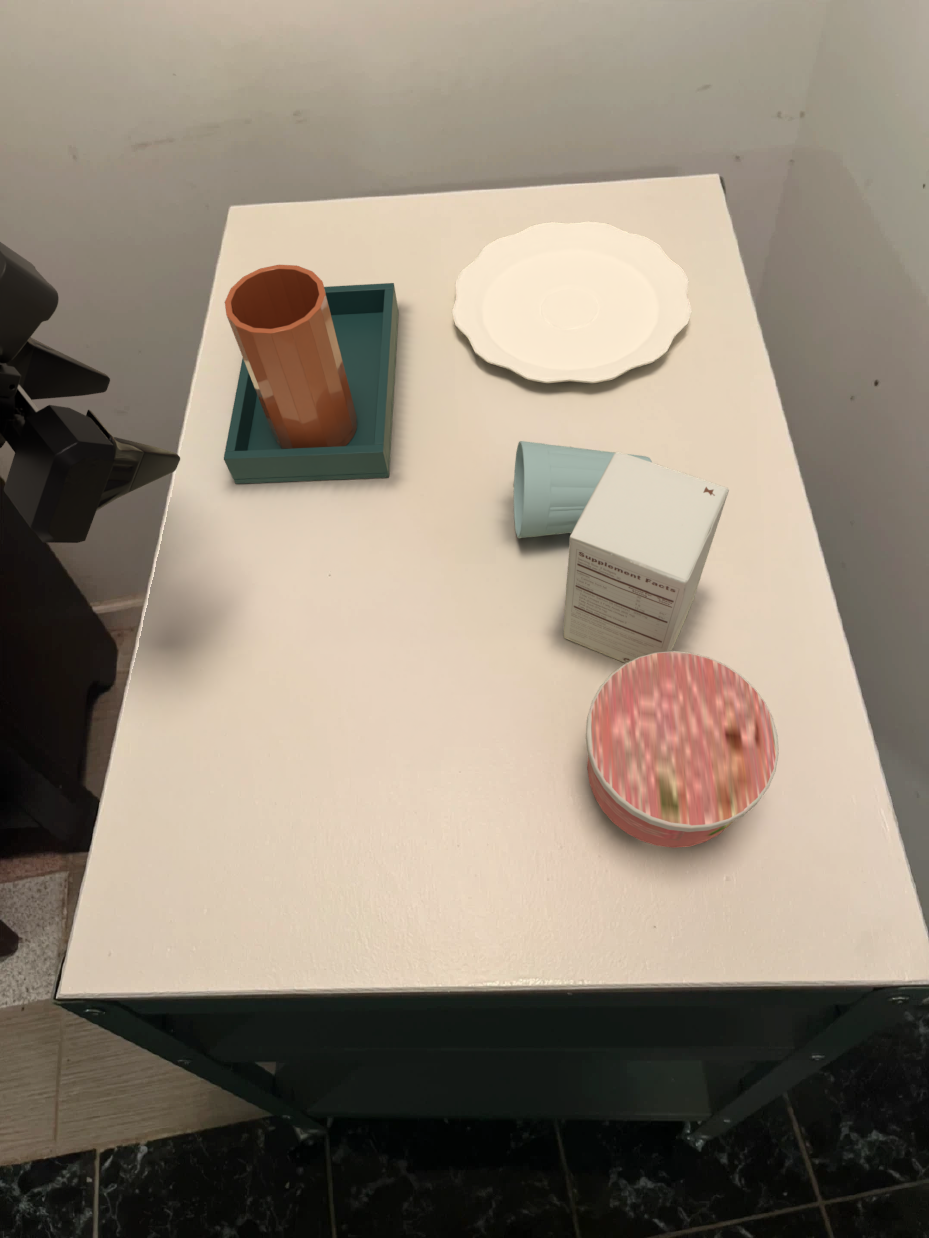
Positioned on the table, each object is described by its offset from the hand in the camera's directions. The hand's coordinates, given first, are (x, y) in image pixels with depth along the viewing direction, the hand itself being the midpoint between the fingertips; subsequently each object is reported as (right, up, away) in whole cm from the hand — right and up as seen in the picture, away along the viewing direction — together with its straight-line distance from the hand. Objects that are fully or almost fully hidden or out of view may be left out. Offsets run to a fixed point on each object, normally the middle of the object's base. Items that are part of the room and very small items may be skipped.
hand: (141, 421), depth 53 cm
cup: (+33, 0, +10) cm, 34 cm away
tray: (+8, +7, +19) cm, 22 cm away
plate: (+30, +15, +22) cm, 40 cm away
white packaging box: (+32, -13, +6) cm, 35 cm away
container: (+33, -23, 0) cm, 40 cm away
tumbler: (+8, +3, +16) cm, 19 cm away
